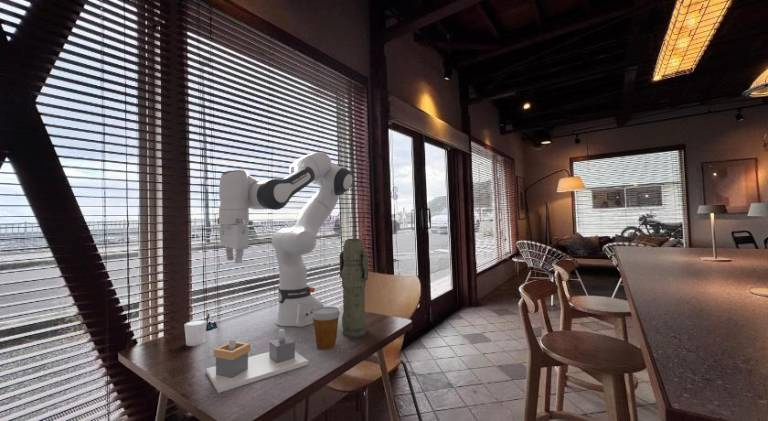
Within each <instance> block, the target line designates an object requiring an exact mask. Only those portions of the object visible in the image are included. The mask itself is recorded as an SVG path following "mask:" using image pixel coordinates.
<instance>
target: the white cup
mask: <svg viewBox="0 0 768 421" xmlns="http://www.w3.org/2000/svg"><path fill="white" fill-rule="evenodd" d="M207 323H208V322H207V321H206V319H197V320H191V321H188V322H186V323H184V324H183V325H184V327H183V328H184V334H185V345H186V346H188V347H194V346H195V347H196V346H199V345H202V344H205V342H206V332H207V330H206V325H207Z"/></svg>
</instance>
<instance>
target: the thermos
mask: <svg viewBox="0 0 768 421" xmlns="http://www.w3.org/2000/svg"><path fill="white" fill-rule="evenodd" d="M364 248H365V247H364V243H363V241H362V239H361V238H347V239H345V240H344V243H343V247H342V249H343V250H342V251H341V252H340V254H339V277H340V278H341V287H342V289H343V292H342V294H343V297H342V298H343V299H342V302H343V304H342V305H343V313H342V314H341V315H342V316H341V324H342V325H341V327H342V336H344V337H346V338H350V339H351V338H352V339H354V338H360V337H363V336H365V335H366V334H367V313H366V309H365V308H366V301H365V299H366V298H365V296H366V294H365V291H366V290H365V287H366V285H367V284H366V283H367V282H366V281H368V280H369V254H368V252H366V251H364V250H365V249H364Z"/></svg>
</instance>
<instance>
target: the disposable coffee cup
mask: <svg viewBox="0 0 768 421" xmlns="http://www.w3.org/2000/svg"><path fill="white" fill-rule="evenodd" d="M340 315H341V312H340V309H339V308H338V307H336V306H335V307H334V306H324V307H320V308H317V309H314V310H313V313H312V315H311V316H312V318H313V330H314V336H315V344H316V348H317V349H318V350H322V351H324V350H325V351H326V350H331V349H334V348H335V347H337V346H336V344H337V336H338V328H339V317H340Z"/></svg>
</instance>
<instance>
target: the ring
mask: <svg viewBox="0 0 768 421" xmlns="http://www.w3.org/2000/svg"><path fill="white" fill-rule="evenodd" d="M247 352H248V353H249V352H251V343H250V342H249V343H247V342H241V341H236V340H235V350H233V351H231V350H229V342H226V343H225V344H222V345H220V346H219V347H216V348H214V349H213V358H216V357H217V358H222V359H228V360H234V359H236V358H238V357H240V356H242V355H243V354H245V353H247Z"/></svg>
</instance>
